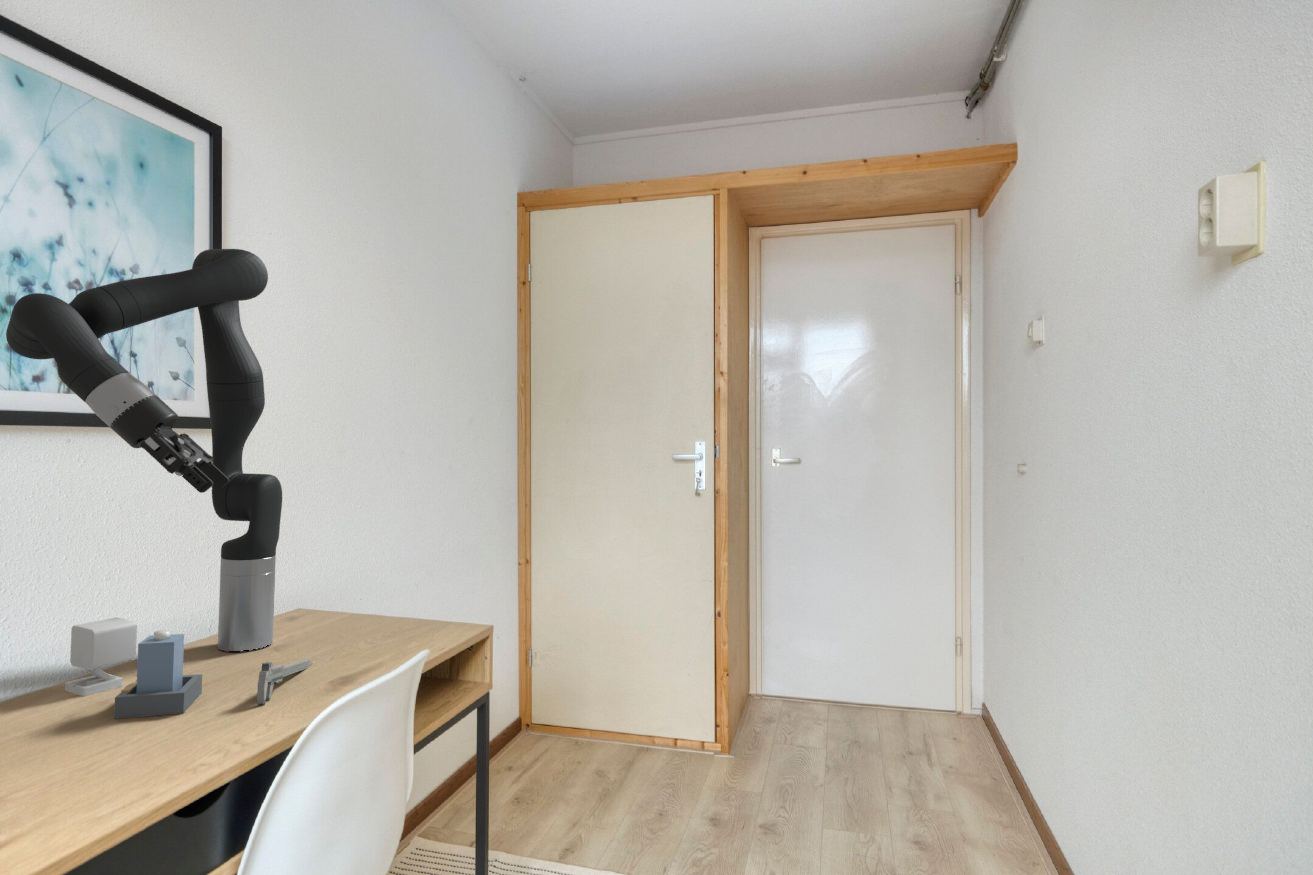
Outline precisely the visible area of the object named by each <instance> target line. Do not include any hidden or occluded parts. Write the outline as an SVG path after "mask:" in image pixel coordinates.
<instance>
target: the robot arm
mask: <svg viewBox="0 0 1313 875" xmlns="http://www.w3.org/2000/svg"><path fill="white" fill-rule="evenodd" d="M191 267H192V268H190V269H187V270H181V271H178V272H177V271H176V272H172V273H165V274H158V275H149V276H144V277H135V278H130V279H126V280H120V281H116V282H111V283H108V284H104V285H100V286H99V285H98V286H96V287H93V288H88V289H85V290H83V291H80V292H79V293H78V294H77V295H75V297H74V298H73V299H72V300H71V301H70V302H69V303H68V302H66V301H65V300H62V299H61V298H59V297H57V296H54V295H52V294H48V293H42V292H41V293H38V292H36V293H35V292H34V293H29V294H27V295H24V296H22V297H20V298H19V299H18V300H17V301H16V303H15V304H14V305H13V308H12V311H11V314H10V318H9V321H8V323H7V328H6V332H5V336H6V342H7V344H8V346H9V347H10V349H12V351H13V352H15V353H16V354H18V355H20V356H22V357H24V358H28V359H31V360H51V359H54V361H55V363H56V366H57V374H58V377H59V379H60V380H61V381H62V383H64V385H65V386H66V387H68V389H70V390H71V391H72V392H73V393H74V394H75V395H76V396H77V397H78V398H80V399H81V400H82V401H83V402H84V403H85V404H86V405H87V406H88V408H90V409H91V410H92V412H93V413H94V414H95V415H96V417H98V418H99V419H100V420H101V421H102V422H104V423H105V424H106V425H107V426H108V427H109V428H110V429H111V430H112V431H114V432H115V434H117V435H118V436H119V437H120V438H121V439H122V440H124V441H125V442H126V443H127V444H128V445H129V446H130V447H132V448H133V449H144V451H146V452H147V453H148V454H149V456H151V457H152V458H153V459H154V460H155V461H156V462H157V463H159V464H160V465H161V466H162V467H163V468H164V469H165V470H166V471H167V473H170V474H175V475H176V476H178V477H182V478H183V479H185V480H186V482H187V483H188V484H190V485H191V486H192V487H193V488H194V489H195V490H196V491H197V492H198V493H201V494H202V493H205V492H207V491H208V490H209V489H210V488H211V498H212V499H211V501H212V506H213V509H214V512H215V514H216V515H217V516H218V518H220V519H222V520H224V521H232V522H233V521H235V522H249V523H248V528H247V531H246V532H245V533H244V534H243V535H241V536H238V537H235V538H232V539H230V540H226V541H224V542H223V543H222V544H221V548H220V570H219V571H220V575H219V576H220V577H219V598H218V600H219V603H218V605H219V606H218V624H217V625H218V626H217V628H218V630H217V650H220V651H222V650H225V651H224V652H229V651H240V652H242V651H241V650H249V651H254V650H253V649H256V648H260V649H263V647H264V648H266V646H267V645H269V646H271V645H272V644H273V643H272V642H273V641H274V640H273V638H274V618H275V617H274V616H275V615H274V614H275V613H274V612H275V592H276V590H275V588H276V559H277V558H276V557H277V556H276V555H277V546H278V542H279V538H280V530H281V528H280V527H281V518H282V508H283V488H282V484H281V481H280V480H279V478H278V477H277V476H276V475H273V474H267V473H246V472H245V473H244V472H243V453H244V448H245V444H246V442H247V440H248V438H249V436H250V435H251V433H252V431H253V429H254V428H255V427H256V425H257V424H258V421H259V420H260V418H261V416H262V414H263V411H264V409H265V404H266V402H265V401H266V400H265V399H266V398H265V397H266V396H265V385H264V383H265V381H264V375H263V369H262V367H261V365H260V361H259V360H258V357H257V356H256V354H255V352H254V350H253V348H252V346H251V345H250V343H249V341H248V339H247V337H246V336H245V335H246V334H245V333H244V330H243V328H242V323H241V315H240V314H241V313H240V305H239V304H240V301H247V300H249V301H250V300H252V299H255V298H257V297H258V296H259V295H261V294H262V293H263V292H264V291H265V289H266V288H267V284H268V281H269V274H268V273H269V272H268V269H267V267H266V264H265V263H264V262H263V260H262V259H261V258H260V257H259V256H258V255H257V254H255V253H252V252H251V251H249V250H244V249H241V248H240V249H239V248H211V249H210V248H209V249H205V250H203V251H200V252H199V253H198V255H196V257H195V259H194V260H193V262H192V266H191ZM195 308H197V309H198V314H199V319H200V320H199V321H200V325H201V333H202V343H203V353H204V363H205V372H206V374H205V375H206V376H205V377H206V391H207V393H206V394H207V400H208V407H209V409H208V410H209V415H210V416H209V418H210V427H211V428H210V429H211V446H212V447H211V450H212V453H211V454H212V455H210V454H209V453H208V452H207V451H206V450H204V448H202V446H200V445H199V444H198V443H197V442H196V441H195V440H194V439H193V438H191V437H190V435H189V434H186V432H185V433H184V432H183V433H180V434H178V433H177V432H176V431H174V429H173V426H174V425H176V424H177V422H178V420H179V415H178V413H176V411H174V410H173V409H172V408H171V407H170V406H169V405H168V404H167V403H166V402H164V400H163V399H162V398H160V397H159V396H158V395H157V394H156V393H155V392H154V391H152V389H150V388H149V387H148V386H147V385H146V384H145V383H143V381H141V380H140V379H138V378H137V377H135V376H134V375H133V374H131V373H130V371H128V370H127V369H126V368H125V367H124V366H122V364H120V362H119V361H118V360H116V359H115V358H114V357H113V356H112V355H110V354H109V353H108V352H107V350H106V349H105V347H104V346H103V344H102V343H101V341H100V338H102V337H104V336H105V335H109V334H110V333H115V332H119V331H122V330H126V329H129V328H132V327H135V326H139V325H142V324H144V323H147V322H148V323H149V322H151V321H154V320H158V319H160V318H163V317H168V316H170V315H173V314H176V313H181V312H184V311H188V310H190V309H195ZM198 459H200V460H199V461H198ZM270 644H271V645H270ZM267 647H268V646H267ZM256 650H257V649H256Z"/></svg>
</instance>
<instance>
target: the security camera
mask: <svg viewBox="0 0 1313 875" xmlns="http://www.w3.org/2000/svg"><path fill="white" fill-rule="evenodd" d="M137 633H138V625H137V622H136V621H134V620H130V619H124V618H120V617H112V618H107V619H101V620H96V621H92V622H91V621H90V622H86V623H80V624H75V625H73V626H72V627H71V633H70V634H71V636H70V637H71V638H70V659H69V660H70V665H71V666H72V667H77V668H80V669H83V670H85V671H86V672H88V673H90V674H91V675H90V676H89V675H88V676H85V677H81V678H77V679H73V680H69V681H65V682H64V691H65V692H68V693H71V694H75V695H78V696H81V697H87V696H91V695H94V694H97V693H98V694H99V693H103V692H105V691H110V690H114V689H116V688H121V687H123V685H124V684H123V682H124V681H123V680H124V678H123V677H121V676H117V675H114V674H110V673H107V672H105V670H103V669H101V668H102V667H107V666H110V665H115V664H119V663H124V662H127V661H131V662H133V661H135V659H136V658H137V657H136V656H137Z"/></svg>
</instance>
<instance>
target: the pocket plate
mask: <svg viewBox="0 0 1313 875" xmlns="http://www.w3.org/2000/svg"><path fill="white" fill-rule="evenodd" d="M136 692H137V679H136V680H134V681H133V680H132V681H131V682H130V683H129V684H128V685H126V686H125V687H124V688H122V689H121V691H120V693H119V694H117V695H116V696H115V697H114V713H113V714H114V717H113V719H116V720H117V719H128V718H141V717H154V716H165V715H166V716H167V715H180V714H181V715H182V714H184V713H186V711H187V710H188V709H189V708H190V707H191V705H193V703H194V702H195V701H196V700H197V699H198V698H199V697H200V696H201V695H202V694H203V673H200V674H185V675H184V674H183V680H182V688H181V689H180V690H179V691H171V692H156V693H141V694H136ZM200 694H201V695H200ZM199 695H200V696H199Z"/></svg>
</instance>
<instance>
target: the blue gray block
mask: <svg viewBox="0 0 1313 875" xmlns="http://www.w3.org/2000/svg"><path fill="white" fill-rule="evenodd" d="M184 649H185V634H184V633H177V634H175V633H174V634H171V630H167V629H166V630H158V631H153V634H152V635H149V636H147V637H146V638H144V639H143V640H141V641H140V642H139V643H138V645H137V667H136V680H137V692H136V694H141V693H156V692H171V691H179V690H180V689H181V688H182V680H183V675H184V672H183V671H184V652H185V651H184Z"/></svg>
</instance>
